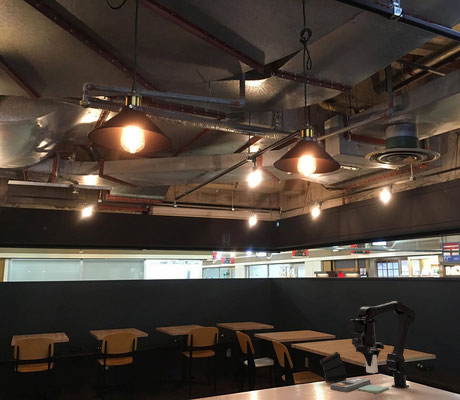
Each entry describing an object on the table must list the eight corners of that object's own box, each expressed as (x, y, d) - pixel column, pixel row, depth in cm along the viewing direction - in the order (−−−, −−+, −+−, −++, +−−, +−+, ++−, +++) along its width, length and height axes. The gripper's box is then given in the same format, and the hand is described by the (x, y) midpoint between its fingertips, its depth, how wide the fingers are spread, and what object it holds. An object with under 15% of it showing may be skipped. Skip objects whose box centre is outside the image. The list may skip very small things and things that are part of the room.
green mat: (369, 386, 216) (369, 384, 216) (388, 389, 209) (388, 387, 209) (357, 390, 208) (357, 388, 208) (377, 393, 201) (377, 391, 201)
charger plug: (370, 371, 213) (368, 354, 215) (377, 372, 210) (376, 354, 212) (366, 372, 210) (365, 355, 212) (374, 373, 207) (372, 355, 209)
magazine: (352, 378, 227) (338, 352, 230) (330, 390, 226) (317, 363, 229) (350, 377, 231) (337, 351, 234) (329, 388, 230) (316, 362, 233)
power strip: (358, 380, 231) (358, 375, 231) (374, 382, 225) (373, 377, 225) (330, 389, 211) (330, 383, 212) (347, 391, 205) (346, 385, 206)
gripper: (362, 330, 226) (365, 361, 223) (344, 333, 213) (347, 366, 210) (383, 331, 218) (386, 363, 215) (365, 334, 205) (368, 369, 202)
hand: (371, 365), depth 211 cm, fingers closed on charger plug, 4 cm apart
